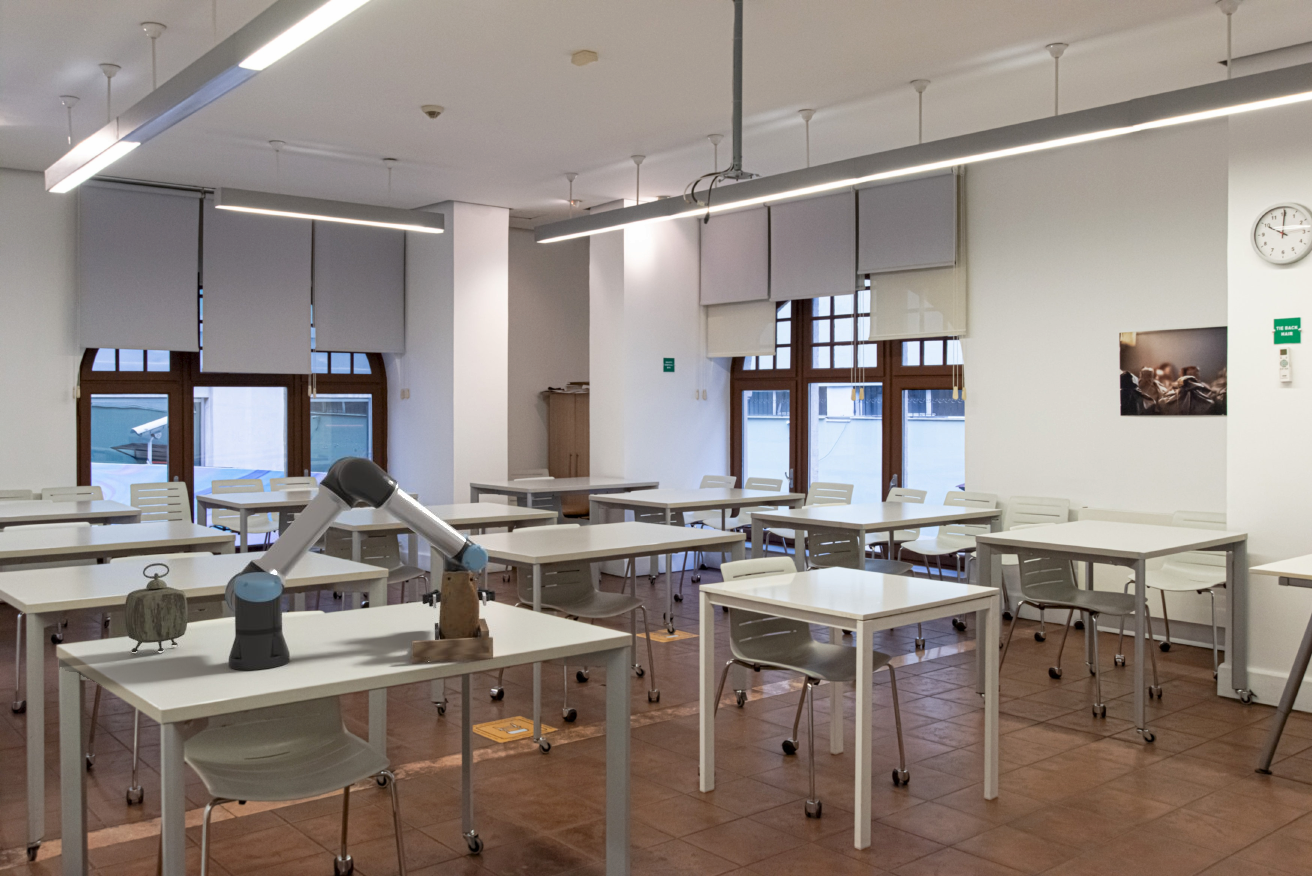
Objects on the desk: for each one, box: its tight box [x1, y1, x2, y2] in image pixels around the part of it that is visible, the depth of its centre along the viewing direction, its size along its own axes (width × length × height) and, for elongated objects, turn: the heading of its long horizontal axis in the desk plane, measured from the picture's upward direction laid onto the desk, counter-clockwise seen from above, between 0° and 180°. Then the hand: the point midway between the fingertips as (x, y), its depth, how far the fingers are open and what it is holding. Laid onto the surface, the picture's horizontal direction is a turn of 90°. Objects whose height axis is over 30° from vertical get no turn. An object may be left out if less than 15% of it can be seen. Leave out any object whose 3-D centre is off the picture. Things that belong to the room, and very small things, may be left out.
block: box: [438, 571, 480, 640], centre depth 284 cm, size 11×8×20 cm
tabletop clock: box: [123, 562, 189, 653], centre depth 287 cm, size 14×9×25 cm, turn 134°
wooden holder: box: [411, 618, 494, 664], centre depth 281 cm, size 21×18×8 cm
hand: (459, 602), depth 283 cm, fingers open, 13 cm apart
